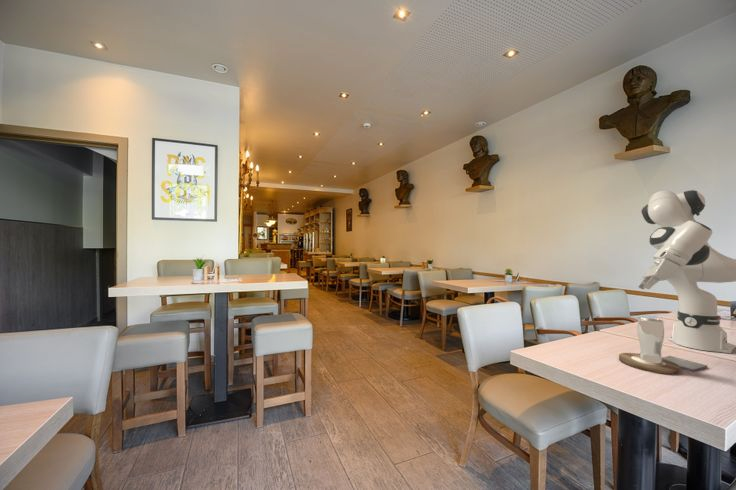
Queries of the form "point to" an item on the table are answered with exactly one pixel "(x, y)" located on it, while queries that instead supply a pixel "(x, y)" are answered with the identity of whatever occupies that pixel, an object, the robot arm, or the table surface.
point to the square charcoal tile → (686, 364)
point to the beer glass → (650, 339)
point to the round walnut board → (649, 364)
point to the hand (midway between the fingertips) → (643, 288)
